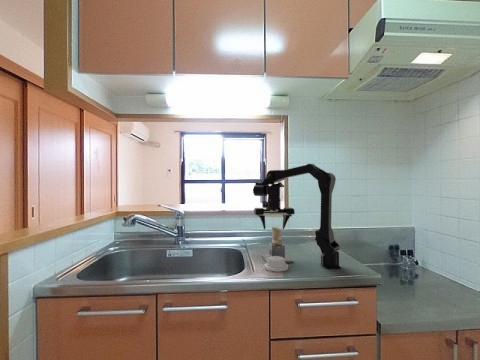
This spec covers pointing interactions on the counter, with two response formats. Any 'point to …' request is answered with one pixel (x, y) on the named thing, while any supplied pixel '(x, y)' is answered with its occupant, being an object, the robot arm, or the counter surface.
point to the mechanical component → (276, 264)
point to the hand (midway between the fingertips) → (274, 229)
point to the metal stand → (277, 253)
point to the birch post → (276, 236)
